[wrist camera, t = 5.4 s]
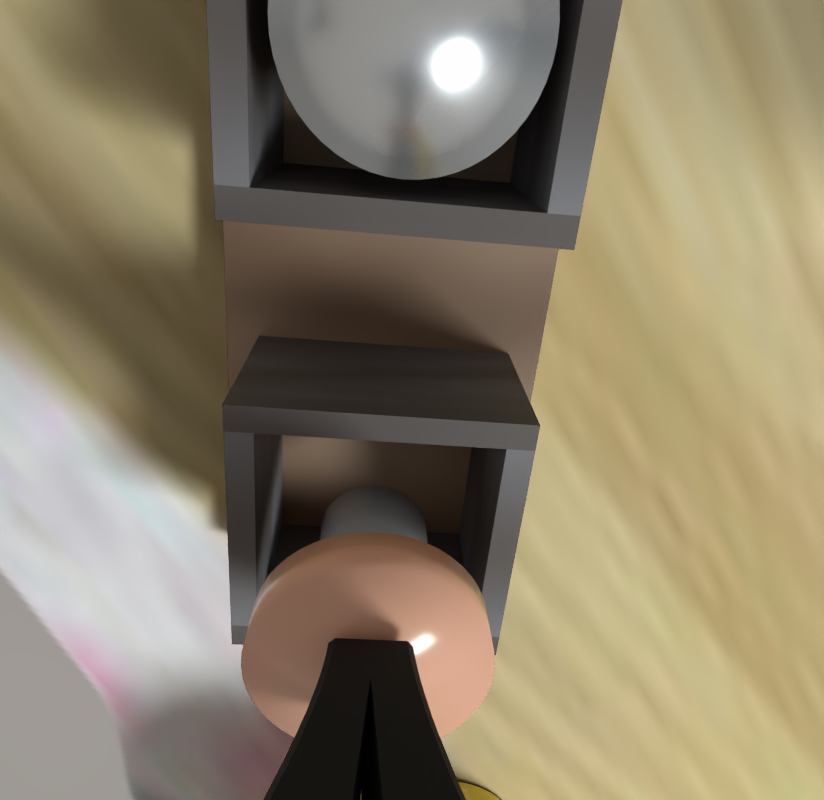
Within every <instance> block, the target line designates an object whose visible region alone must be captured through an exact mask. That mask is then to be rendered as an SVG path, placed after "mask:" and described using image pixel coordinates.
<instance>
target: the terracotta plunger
mask: <svg viewBox="0 0 824 800" xmlns="http://www.w3.org/2000/svg"><path fill="white" fill-rule="evenodd" d="M335 638H348V639H371V640H394V641H408V642H409V643H410V644H411V645H412V646H413V648H414V654H415V659H416V664H417V668H418V672H419V676H420V680H421V683H422V686H423V690H424V693H425V696H426V699H427V702H428V705H429V708H430V712H431V714H432V717H433V720H434V723H435V726H436V728H437V731H438V734H439V736H440V738H441V737H443V736H445V735H447V734H449V733H450V732H452V731H453V730H455V729H456V728H458V727H459V726H460V725H462V724H463V723H464V722H465V721H466V720H468V719H469V718H470V717H471V716H472V714H473V713H474V712H475V711H476V710H477V709H478V708H479V706H480V705H481V703H482V702H483V700H484V699H485V697H486V695H487V693H488V691H489V689H490V687H491V683H492V680H493V676H494V668H495V657H494V648H493V643H492V637H491V632H490V626H489V621H488V615H487V610H486V606H485V602H484V598H483V596H482V593H481V591H480V589H479V587H478V585H477V584H476V582H475V581H474V579H473V578H472V576H471V575H470V574H469V573H468V572H467V571H466V569H465V568H464V567H463V566H462V565H461V564H459V563H458V562H457V561H456V560H455V559H453V558H452V557H451V556H449V555H448V554H446V553H445V552H443V551H441V550H440V549H438V548H436V547H434V546H432V545H430V544H428V539H427V527H426V520H425V517H424V514H423V512H422V510H421V509H420V507H419V506H418V505H417V504H416V502H415V501H414V500H412V499H411V498H410V497H409V496H407V495H406V494H404V493H402V492H400V491H398V490H395V489H392V488H388V487H383V486H364V487H359V488H356V489H353V490H350V491H348V492H346V493H344V494H342V495H341V496H339V497H338V498H337V499H336V500H334V501H333V502H332V504H331V505H330V506H329V507H328V509H327V510H326V512H325V515H324V517H323V521H322V526H321V533H320V539H319V541H317V542H314V543H312V544H310V545H308V546H306V547H304V548H302V549H300V550H298V551H297V552H295V553H293V554H292V555H290V556H289V557H287V558H286V559H285V560H284V561H283V562H281V563H280V564H279V565H278V566H277V567H276V568H275V569H274V570H273V571H272V572H271V573H270V575H269V576H268V577H267V579H266V580H265V582H264V583H263V585H262V586H261V588H260V590H259V593H258V595H257V597H256V600H255V604H254V607H253V611H252V615H251V619H250V623H249V626H248V630H247V634H246V638H245V642H244V646H243V650H242V657H241V669H242V677H243V680H244V683H245V687H246V690H247V692H248V693H249V695H250V697H251V699H252V701H253V702H254V704H255V705H256V707H257V708H258V709H259V711H260V712H261V713H262V714H263V715H264V716H265V717H266V718H267V719H268V720H269V721H270V722H272V723H273V724H274V725H275V726H276V727H278V728H279V729H281V730H282V731H284V732H285V733H287V734H288V735H290V736H292V737H294V738H295V735H296V733H297V731H298V729H299V726H300V724H301V722H302V720H303V717H304V715H305V713H306V711H307V708H308V706H309V703H310V701H311V698H312V696H313V693H314V690H315V688H316V685H317V682H318V679H319V676H320V673H321V670H322V667H323V663H324V660H325V656H326V652H327V647H328V643H329V642H330V641H332V640H333V639H335Z"/></svg>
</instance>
